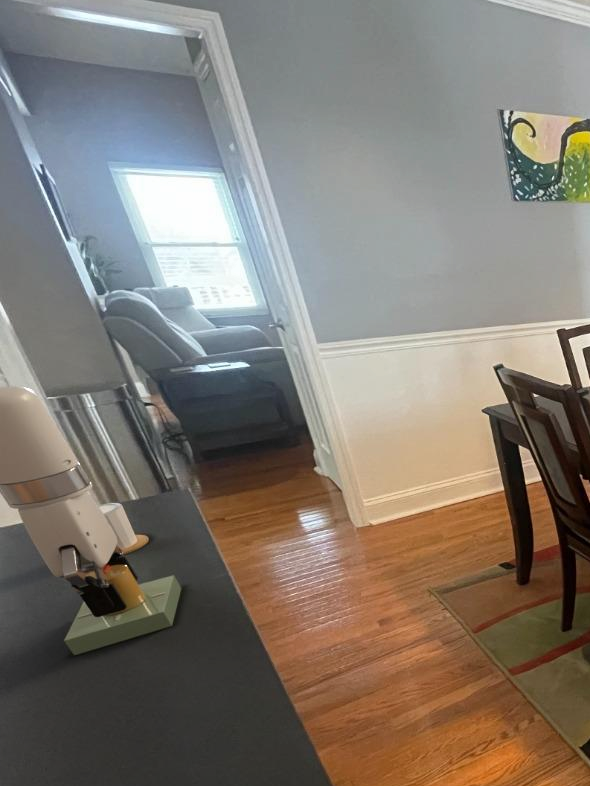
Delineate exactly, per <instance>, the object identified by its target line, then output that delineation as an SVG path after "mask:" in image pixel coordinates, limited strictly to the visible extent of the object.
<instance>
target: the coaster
mask: <svg viewBox="0 0 590 786" xmlns="http://www.w3.org/2000/svg"><path fill="white" fill-rule="evenodd" d="M135 536H136V538H137V542H136V543H135V544H134V545H132V546H130V547H128V548H126V549H123V550H122V552H123V556H125V555H127V554H129V553H132V552H135V551H137V550H139V549H140V548H142V547H144V546H145V545H147V544H148V542H149V537H148V536H147V535H144V534H135Z"/></svg>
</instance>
